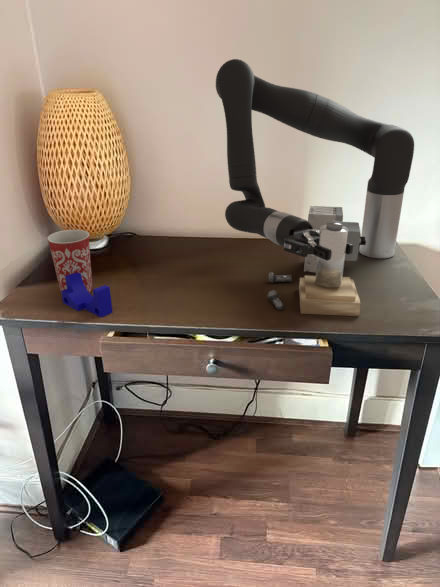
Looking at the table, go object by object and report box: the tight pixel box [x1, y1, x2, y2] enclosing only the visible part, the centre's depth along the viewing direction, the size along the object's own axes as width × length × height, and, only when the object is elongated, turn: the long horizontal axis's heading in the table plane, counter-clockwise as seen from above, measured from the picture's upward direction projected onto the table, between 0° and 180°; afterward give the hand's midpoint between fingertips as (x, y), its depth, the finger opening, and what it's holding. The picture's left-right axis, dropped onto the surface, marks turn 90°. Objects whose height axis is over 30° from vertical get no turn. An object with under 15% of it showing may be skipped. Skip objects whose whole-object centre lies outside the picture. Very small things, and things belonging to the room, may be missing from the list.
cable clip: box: [60, 273, 113, 318], centre depth 102 cm, size 12×4×6 cm, turn 48°
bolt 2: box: [267, 289, 285, 311], centre depth 103 cm, size 5×2×2 cm, turn 13°
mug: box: [46, 229, 93, 295], centre depth 110 cm, size 13×9×14 cm
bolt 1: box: [268, 272, 293, 283], centre depth 114 cm, size 5×2×2 cm, turn 93°
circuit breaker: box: [303, 205, 366, 273], centre depth 119 cm, size 8×14×15 cm, turn 78°
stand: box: [298, 275, 362, 317], centre depth 104 cm, size 12×12×4 cm
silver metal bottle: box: [315, 221, 348, 287], centre depth 100 cm, size 6×6×13 cm
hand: (340, 252), depth 97 cm, fingers closed on silver metal bottle, 5 cm apart
